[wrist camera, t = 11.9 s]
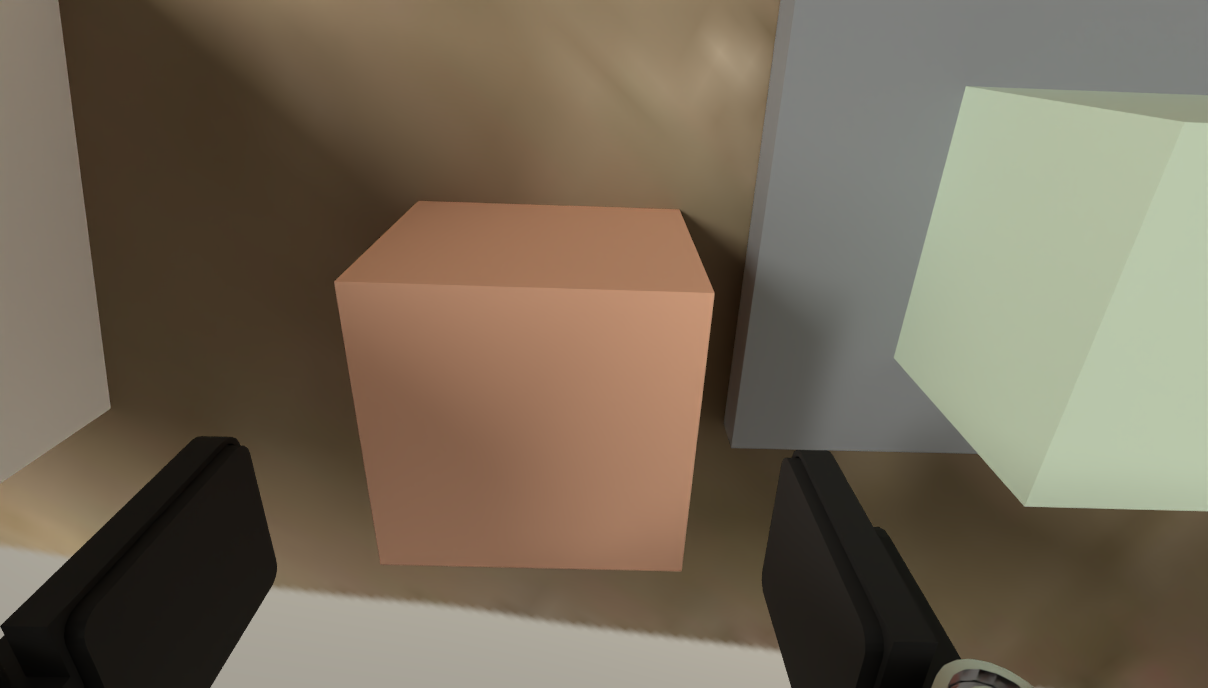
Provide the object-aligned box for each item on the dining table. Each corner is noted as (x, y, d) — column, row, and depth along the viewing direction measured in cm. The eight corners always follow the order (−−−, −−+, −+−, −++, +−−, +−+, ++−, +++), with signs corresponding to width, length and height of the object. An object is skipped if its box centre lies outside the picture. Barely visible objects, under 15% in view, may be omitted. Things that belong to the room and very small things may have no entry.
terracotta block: (419, 199, 16) (333, 281, 11) (679, 208, 16) (714, 293, 11) (440, 419, 19) (380, 564, 14) (660, 425, 19) (681, 571, 14)
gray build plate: (789, -67, 13) (805, -76, 12) (1455, -43, 13) (1530, -49, 12) (723, 423, 18) (731, 448, 17) (1201, 434, 19) (1237, 459, 18)
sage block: (965, 86, 13) (1184, 122, 8) (1267, 97, 13) (1661, 139, 8) (893, 357, 16) (1024, 506, 11) (1142, 365, 16) (1382, 516, 11)
